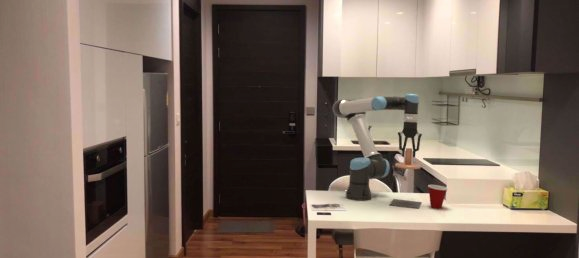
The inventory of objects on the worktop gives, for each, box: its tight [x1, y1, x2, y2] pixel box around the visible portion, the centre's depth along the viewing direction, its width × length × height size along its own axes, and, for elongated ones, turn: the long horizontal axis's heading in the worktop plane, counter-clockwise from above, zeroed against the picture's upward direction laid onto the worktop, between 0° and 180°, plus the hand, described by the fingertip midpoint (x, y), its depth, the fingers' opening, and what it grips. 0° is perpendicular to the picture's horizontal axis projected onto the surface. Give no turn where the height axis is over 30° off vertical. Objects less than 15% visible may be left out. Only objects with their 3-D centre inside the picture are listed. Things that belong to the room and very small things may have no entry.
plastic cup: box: [427, 184, 448, 210], centre depth 278 cm, size 11×11×12 cm
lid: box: [395, 147, 422, 170], centre depth 281 cm, size 14×14×10 cm
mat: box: [388, 198, 422, 210], centre depth 284 cm, size 16×15×1 cm
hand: (408, 162), depth 281 cm, fingers closed on lid, 3 cm apart
